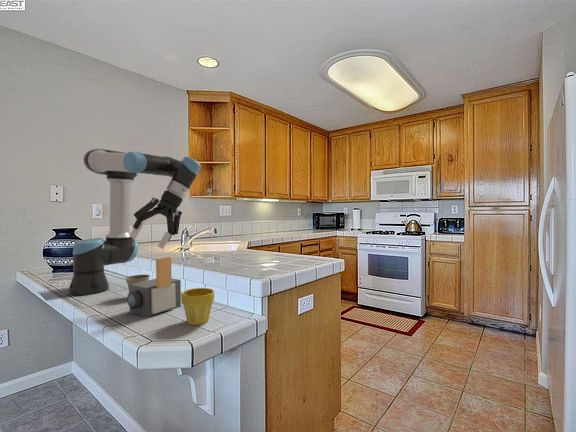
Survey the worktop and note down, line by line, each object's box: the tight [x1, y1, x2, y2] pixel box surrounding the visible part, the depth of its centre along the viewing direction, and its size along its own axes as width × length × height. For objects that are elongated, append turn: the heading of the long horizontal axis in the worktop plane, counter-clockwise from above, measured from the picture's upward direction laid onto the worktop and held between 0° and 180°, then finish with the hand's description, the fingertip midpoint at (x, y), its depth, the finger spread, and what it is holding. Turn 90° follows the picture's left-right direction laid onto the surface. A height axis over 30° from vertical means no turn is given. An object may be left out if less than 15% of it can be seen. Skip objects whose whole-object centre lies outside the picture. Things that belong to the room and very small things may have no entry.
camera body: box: [126, 277, 182, 318], centre depth 110 cm, size 16×10×11 cm, turn 148°
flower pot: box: [124, 274, 151, 290], centre depth 127 cm, size 9×9×9 cm
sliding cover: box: [151, 256, 176, 314], centre depth 107 cm, size 9×2×18 cm, turn 148°
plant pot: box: [181, 287, 215, 326], centre depth 98 cm, size 10×10×10 cm
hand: (146, 242), depth 115 cm, fingers open, 13 cm apart
